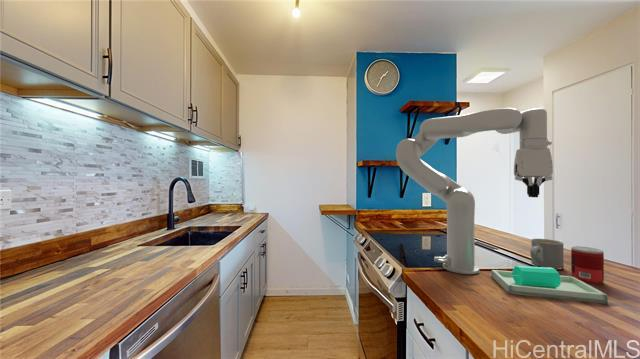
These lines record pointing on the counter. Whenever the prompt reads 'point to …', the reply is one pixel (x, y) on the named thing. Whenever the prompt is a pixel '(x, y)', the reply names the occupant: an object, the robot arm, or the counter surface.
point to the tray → (552, 289)
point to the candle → (536, 276)
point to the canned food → (587, 264)
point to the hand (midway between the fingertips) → (533, 197)
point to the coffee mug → (547, 253)
